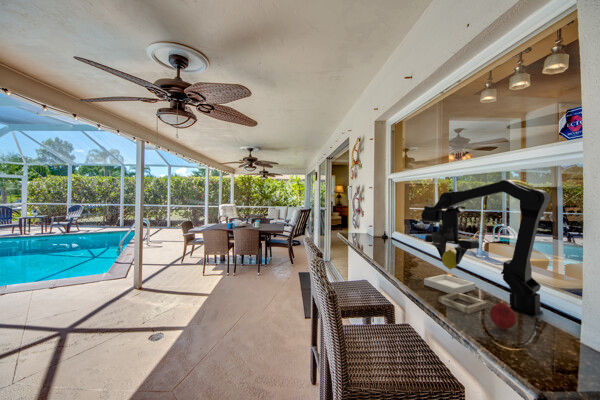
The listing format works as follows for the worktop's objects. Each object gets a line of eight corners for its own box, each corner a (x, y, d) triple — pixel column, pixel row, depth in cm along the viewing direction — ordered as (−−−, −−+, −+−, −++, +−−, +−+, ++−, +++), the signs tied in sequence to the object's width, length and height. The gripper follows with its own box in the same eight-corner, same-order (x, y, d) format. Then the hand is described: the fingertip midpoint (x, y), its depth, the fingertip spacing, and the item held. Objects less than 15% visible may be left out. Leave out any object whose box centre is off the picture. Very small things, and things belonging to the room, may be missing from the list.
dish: (475, 289, 99) (475, 283, 99) (454, 295, 93) (454, 288, 93) (444, 280, 111) (444, 274, 111) (424, 284, 105) (424, 278, 105)
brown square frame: (487, 307, 83) (487, 302, 83) (468, 314, 78) (468, 308, 78) (457, 296, 92) (457, 291, 92) (438, 301, 88) (438, 296, 88)
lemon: (461, 271, 96) (461, 251, 96) (447, 271, 96) (447, 251, 96) (452, 267, 101) (452, 248, 101) (439, 267, 101) (439, 248, 101)
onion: (518, 337, 65) (518, 307, 65) (491, 331, 68) (491, 302, 68) (514, 327, 70) (513, 299, 70) (488, 322, 73) (488, 295, 73)
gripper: (415, 222, 103) (416, 259, 103) (461, 227, 86) (461, 271, 87) (433, 221, 108) (433, 256, 108) (479, 225, 91) (480, 267, 91)
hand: (450, 262), depth 99 cm, fingers closed on lemon, 6 cm apart
